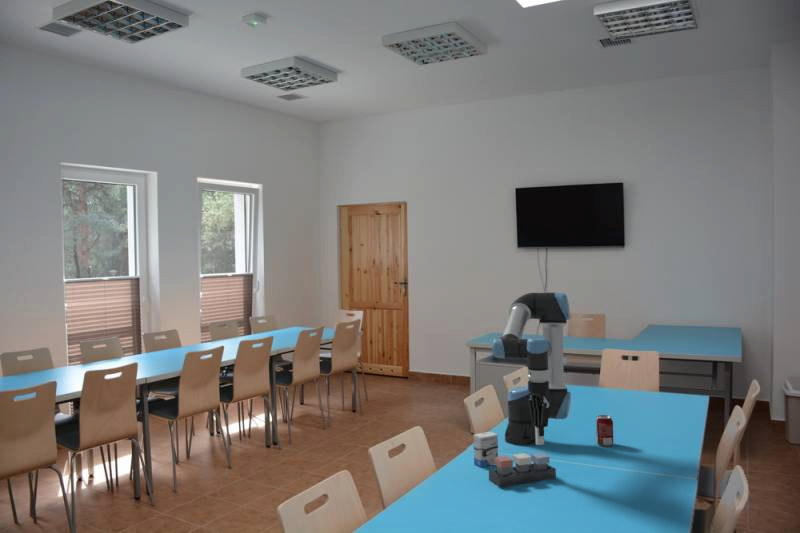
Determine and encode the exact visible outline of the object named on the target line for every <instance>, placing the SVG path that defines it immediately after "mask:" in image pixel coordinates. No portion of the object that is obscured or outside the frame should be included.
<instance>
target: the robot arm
mask: <svg viewBox="0 0 800 533" xmlns="http://www.w3.org/2000/svg"><path fill="white" fill-rule="evenodd" d="M570 319H571V311H570V305H569V299H568V296H567V294H566V293H564V292H528V293H525V294H523V295H521V296H519V297H518V298H517V299H515V300H514V301H513V302H512V303H511V305H510V306H509V310H508V318H507V322H506V324H505V327H504V330H503V333H502V336H501V338H500V337H499V338H494V339H493V342H492V355H493V357H494V358H499V359H520V360H521V359H522V360H523V359H524V360H527V373H526V374H527V379H528V381H527V385H519V386H516V387H512V388H510V389H509V390H508V392H507V399H506V400H507V418H508V420H507V422H508V423H507V426H506V429H505V433H504V441H505V442H506V443H508V444H512V445H518V446H531V445H537V446H541V445H545V427H548V426H549V419H553V420H565V419H567V418H568V417H569V413H570V409H571V402H572V401H571V400H572V393H571V392H570V391H568V387H567V385H566V384H565V383H564V373H565V372H564V328H565V326H566V325H567V321H568V320H570ZM530 320H538V323H539V325H540V326H541V327H542V337H530V338H526V339H525V338H523V335H524V332H525V328H526V325H527V322H528V321H530Z"/></svg>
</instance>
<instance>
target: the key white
mask: <svg viewBox="0 0 800 533" xmlns="http://www.w3.org/2000/svg"><path fill="white" fill-rule="evenodd" d="M512 460H513V463H514V464H515V467H516V470H517V471H518V472H520V473H523V472H529V464H532V461H531V455H529V454H527V453H524V452H523V453H517V454H512Z"/></svg>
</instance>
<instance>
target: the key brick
mask: <svg viewBox="0 0 800 533" xmlns="http://www.w3.org/2000/svg"><path fill="white" fill-rule="evenodd" d="M494 461H495V466H496V468H497V473H499V474H500V475H501V476H504V475H510V467H514V465H513V464H514V462H513V458H510V456H507V455H502V456H498V457H494Z"/></svg>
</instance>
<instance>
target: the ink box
mask: <svg viewBox="0 0 800 533" xmlns="http://www.w3.org/2000/svg"><path fill="white" fill-rule="evenodd" d="M498 435H499V434H497V433H494V432H493V431H486V432H480V433H475V434H473V460H474V461H473V463H474V465H475V466H477V467H480V468H484V467H485V466H486V467H489V466H494V464H495V461H494V457H499V436H498Z"/></svg>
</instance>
